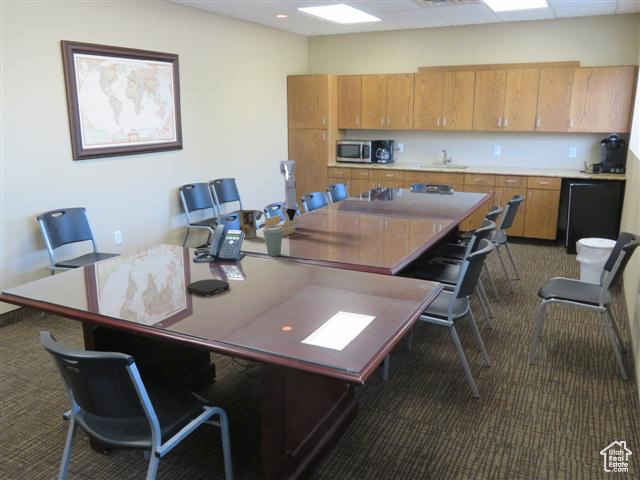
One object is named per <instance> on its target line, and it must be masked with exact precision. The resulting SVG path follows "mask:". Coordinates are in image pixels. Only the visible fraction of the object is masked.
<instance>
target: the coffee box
mask: <svg viewBox="0 0 640 480" xmlns="http://www.w3.org/2000/svg"><path fill="white" fill-rule="evenodd" d="M256 221H257V219H256V210H254V209H251V210H249V209H248V210H245V209H244V210H240V211H239V212H238V222H239V231H240V230H243V231H244V233H245V238H244V239H256V237H257V235H258V234H257V222H256Z"/></svg>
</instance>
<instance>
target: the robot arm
mask: <svg viewBox="0 0 640 480" xmlns="http://www.w3.org/2000/svg"><path fill="white" fill-rule="evenodd" d="M296 165H297V164H296V160H295V159H294V160H280V161H279V171H280V175H283V179H284V200H283V201H282V202H281V204H280V210H281V211H280V212H281V216H283V224H284V223H285V222H287V221H291V220H295V219H298V218H299V217H298V215H297V213H298V212H300V211H303V207H302V206H297V203H296V201H297V198H296V196H297V195H296V194H297V193H296V192H297V191H296V189H297V181H296V177H295V172H296ZM291 222H292V221H291ZM297 228H299V221H298V222H297V223H296V225H295V229H297Z"/></svg>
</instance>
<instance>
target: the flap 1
mask: <svg viewBox="0 0 640 480" xmlns="http://www.w3.org/2000/svg"><path fill="white" fill-rule="evenodd" d="M281 218H282V214H278V215H274V216H271V217H266V218H265V222H264V223H265V224H264V227H266V226H270V225H281V224H280V223H281Z"/></svg>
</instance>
